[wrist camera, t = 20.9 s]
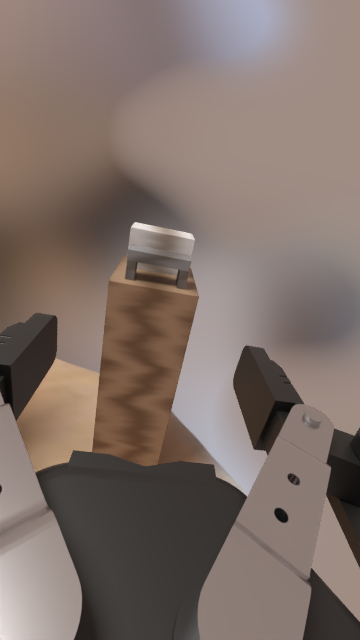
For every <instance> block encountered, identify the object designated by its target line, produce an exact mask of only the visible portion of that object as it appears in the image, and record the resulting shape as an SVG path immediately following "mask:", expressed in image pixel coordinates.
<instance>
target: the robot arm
mask: <svg viewBox="0 0 360 640" xmlns="http://www.w3.org/2000/svg"><path fill="white" fill-rule="evenodd" d="M56 352H57V317H56V316H54V315H47V314H41V313H35V314H34V315H33V316H32V317H31V318H30V319H29V320H28V321H27V322H25V323H20V322H19V323H17V324H14V325H12V326H10V327H7V328H6V329H5V330H4V331H3V332H2V333H1V334H0V640H360V622H359V621H358V620H357V619H356V618H355V616H354V615H353V614H352V613H351V612H350V611H349V610H348V609H347V607H346V606H345V605H344V604H343V603H342V602H341V601H340V600H339V598H338V597H337V596H336V595H335V594H334V593H333V592H332V591H331V589H330V588H329V587H328V586H327V585H326V584H325V583H324V582H323V581H322V579H321V578H320V577H319V576H318V575H317V574H316V573H315V571H314V570H313V569H312V568H311V566H312V561H313V556H314V551H315V546H316V541H317V536H318V531H319V526H320V521H321V516H322V511H323V507H324V502H325V497H326V496H327V498H328V500H329V502H330V504H331V506H332V509H333V511H334V513H335V515H336V517H337V519H338V522H339V524H340V526H341V528H342V530H343V533H344V535H345V537H346V539H347V541H348V544H349V546H350V548H351V550H352V552H353V554H354V557H355V559H356V561H357V563H358V565H359V567H360V428H359V430H358V431H357V433H356V434H355V436H353V435H350V434H348V433H345V432H342V431H339V430H337V429H334V426H333V424H332V422H331V421H330V419H329V418H328V417H327V416H326V415H325V414H323V413H322V412H321V411H319V410H317V409H316V408H313V407H311V406H308V405H305V404H304V403H303V401H302V400H301V398H300V396H299V395H298V393H297V392H296V390H295V389H294V387H293V385H292V384H291V382H290V380H289V379H288V378H287V376H286V374H285V373H284V371H283V369H282V368H281V367H280V366H279V365H277V364H276V363H275V362H274V361H272V360H270V359H269V357H268V355H267V353H266V352H265V350H264V349H263V348H259V347H253V346H245V347H244V349H243V351H242V354H241V357H240V360H239V362H238V365H237V368H236V371H235V374H234V379H233V385H234V390H235V393H236V396H237V399H238V402H239V405H240V408H241V411H242V414H243V417H244V420H245V424H246V427H247V430H248V433H249V436H250V439H251V442H252V445H253V448H254V449H255V450H264V451H266V452H267V455H268V457H267V459H266V461H265V463H264V465H263V467H262V469H261V471H260V473H259V475H258V477H257V479H256V481H255V483H254V485H253V487H252V489H251V491H250V493H249V495H248V497H247V496H246V495H245V494H244V493H242V492H241V491H240V490H239V489H237V488H236V487H234V486H233V485H231V484H230V483H228V482H226V481H224V480H222V479H220V478H217V477H216V475H215V469H214V465H211V464H201V463H191V462H182V461H180V462H173V463H166V464H159V465H152V466H142V465H139V464H136V463H133V462H131V461H128V460H125V459H122V458H119V457H116V456H113V455H110V454H103V453H93V452H84V451H74V450H73V452H72V455H71V458H70V461H69V462H68V463H62V464H58V465H54V466H51V467H48V468H45V469H43V470H40V471H38V472H36V473H35V471H34V469H33V466H32V463H31V461H30V458H29V455H28V452H27V450H26V447H25V444H24V442H23V439H22V436H21V434H20V431H19V428H18V425H17V423H16V420H17V419H18V417H19V416H20V414H21V413H22V411H23V410H24V408H25V406H26V405H27V403H28V402H29V400H30V399H31V397H32V396H33V394H34V392H35V391H36V389H37V388H38V386H39V385H40V383H41V381H42V380H43V378H44V377H45V375H46V374H47V372H48V371H49V369H50V367H51V366H52V364H53V362H54V360H55V357H56Z"/></svg>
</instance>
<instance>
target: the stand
mask: <svg viewBox="0 0 360 640" xmlns="http://www.w3.org/2000/svg"><path fill="white" fill-rule="evenodd" d="M194 241H195V239H194V238H193V235H192V234H190V233H186V232H181V231H176V230H170V229H166V228H161V227H156V226H151V225H146V224H141V223H137V222H135V223H134V224H133V225H132V227H131V231H130V239H129V248H128V256H124V257H123V259H122V260H121V262H120V264H119V265H118V267H117V268H116V270H115V272H114V273H113V275H112V277H111V278H110V280H109V285H108V297H107V306H106V316H105V327H104V336H103V347H102V358H101V368H100V377H99V388H98V398H97V408H96V418H95V428H94V439H93V449H92V452H93V453H103V454H110V455H113V456H116V457H119V458H122V459H125V460H128V461H131V462H133V463H136V464H139V465H142V466H152V465H158V462H159V457H160V453H161V449H162V445H163V441H164V437H165V433H166V429H167V425H168V421H169V417H170V413H171V408H172V404H173V400H174V396H175V392H176V388H177V384H178V379H179V375H180V372H181V368H182V363H183V359H184V355H185V351H186V347H187V343H188V339H189V335H190V331H191V327H192V323H193V319H194V314H195V310H196V306H197V302H198V298H199V296H198V292H197V288H196V285H195V281H194V278H193V274H192V271H191V268H190V265H191V255H192V251H193V246H194Z"/></svg>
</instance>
